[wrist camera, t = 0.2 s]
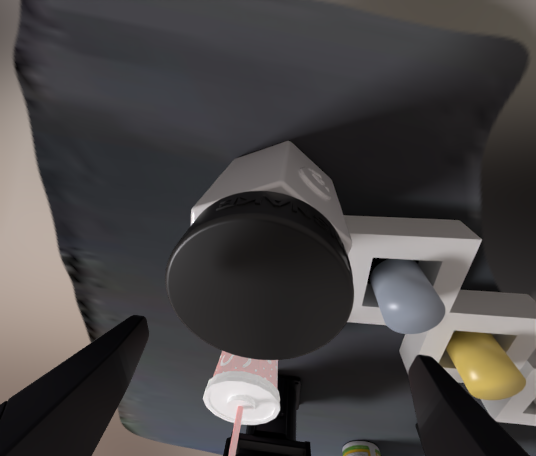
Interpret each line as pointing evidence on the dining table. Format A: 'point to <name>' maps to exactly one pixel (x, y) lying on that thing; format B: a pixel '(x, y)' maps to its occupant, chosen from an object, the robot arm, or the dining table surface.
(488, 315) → the hollow square frame
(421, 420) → the robot arm
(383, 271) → the slate button
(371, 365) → the dining table surface
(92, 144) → the dining table surface
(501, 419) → the offwhite housing
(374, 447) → the supplement bottle
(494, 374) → the mustard button
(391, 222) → the light gray housing
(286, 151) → the jar
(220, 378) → the beverage cup
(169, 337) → the dining table surface
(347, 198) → the dining table surface
